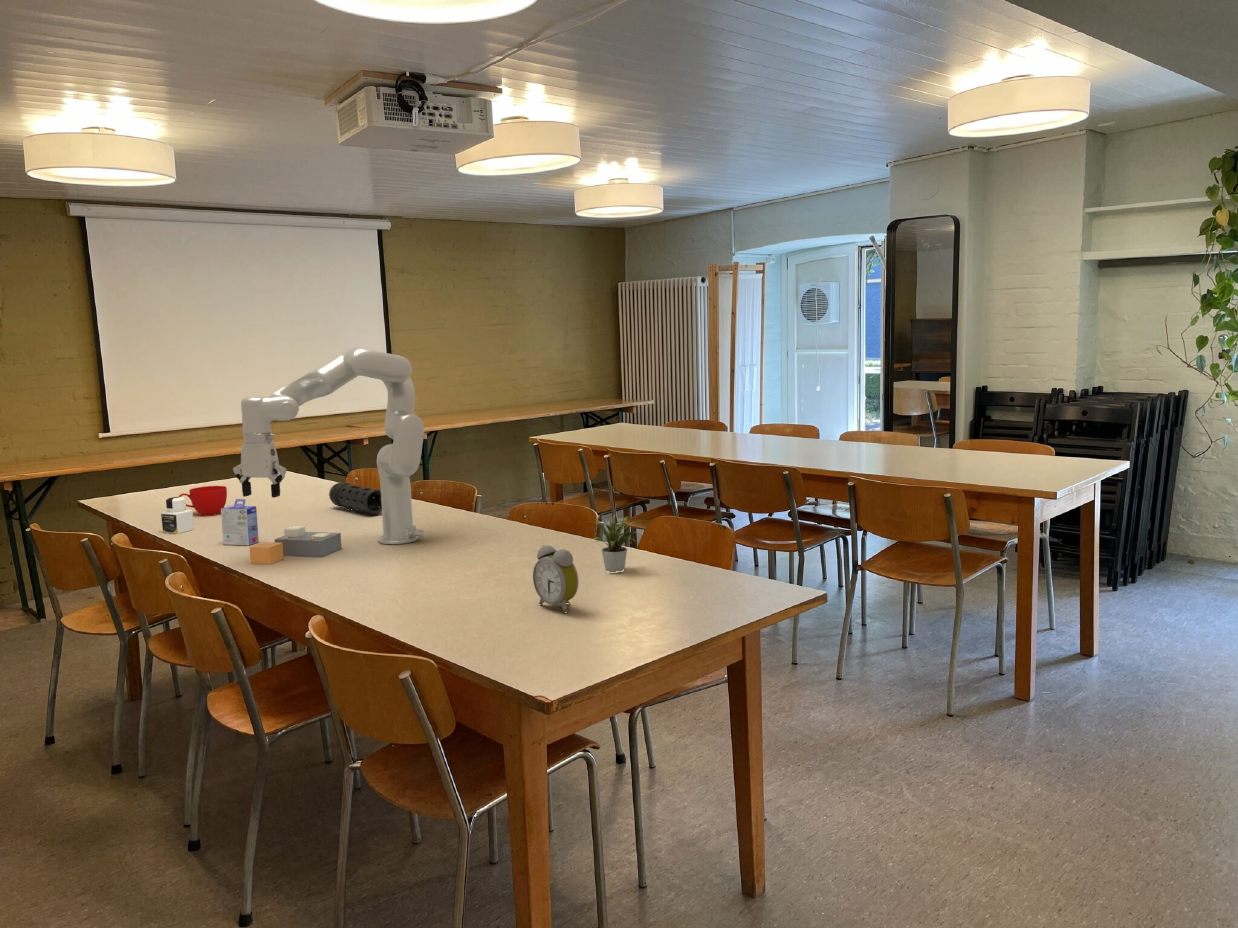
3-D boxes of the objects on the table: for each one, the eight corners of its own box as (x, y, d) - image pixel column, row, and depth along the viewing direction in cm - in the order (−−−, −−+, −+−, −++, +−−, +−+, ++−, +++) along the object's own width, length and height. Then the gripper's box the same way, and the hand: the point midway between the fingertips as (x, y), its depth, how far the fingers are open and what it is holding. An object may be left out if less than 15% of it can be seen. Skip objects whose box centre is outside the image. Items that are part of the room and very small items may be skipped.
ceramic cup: (180, 513, 334) (178, 488, 332) (228, 509, 341) (226, 484, 339) (179, 520, 322) (176, 493, 321) (229, 515, 329) (226, 489, 328)
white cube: (305, 538, 272) (304, 526, 271) (297, 542, 268) (296, 529, 267) (293, 538, 273) (292, 525, 272) (285, 541, 269) (284, 529, 268)
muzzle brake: (366, 518, 319) (364, 491, 318) (327, 509, 338) (326, 483, 337) (388, 514, 326) (386, 487, 324) (350, 505, 345) (348, 480, 343)
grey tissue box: (341, 548, 273) (340, 531, 272) (322, 557, 263) (320, 539, 262) (296, 546, 277) (295, 529, 276) (275, 555, 266) (274, 537, 265)
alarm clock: (532, 605, 211) (530, 545, 209) (553, 599, 216) (552, 540, 213) (563, 615, 203) (562, 553, 200) (585, 609, 207) (583, 548, 205)
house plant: (592, 580, 231) (590, 521, 229) (580, 567, 245) (578, 511, 242) (642, 575, 235) (642, 517, 233) (628, 563, 248) (627, 507, 246)
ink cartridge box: (260, 542, 284) (256, 498, 282) (249, 546, 279) (246, 502, 277) (233, 541, 286) (229, 498, 284) (222, 545, 281) (218, 501, 279)
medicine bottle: (162, 532, 301) (159, 498, 299) (179, 528, 308) (176, 495, 306) (177, 534, 298) (174, 500, 297) (194, 529, 305) (191, 496, 303)
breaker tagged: (331, 545, 270) (331, 533, 269) (324, 549, 266) (323, 536, 265) (319, 545, 271) (318, 533, 270) (311, 548, 267) (310, 536, 266)
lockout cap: (283, 558, 261) (282, 542, 261) (270, 564, 255) (268, 547, 254) (264, 557, 263) (263, 541, 262) (250, 563, 257) (249, 547, 256)
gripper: (291, 438, 255) (294, 495, 258) (240, 437, 259) (244, 493, 262) (275, 440, 248) (279, 499, 250) (223, 440, 252) (227, 497, 254)
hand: (261, 496), depth 256 cm, fingers open, 9 cm apart
